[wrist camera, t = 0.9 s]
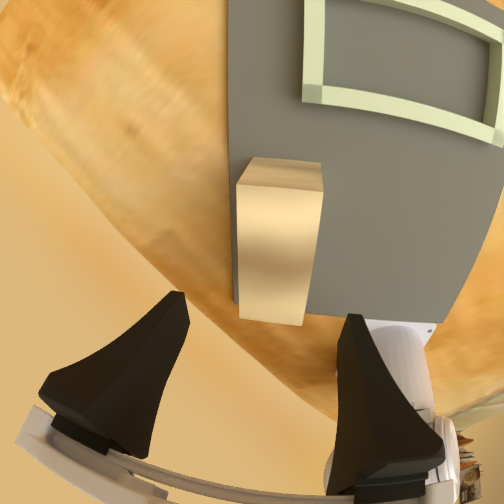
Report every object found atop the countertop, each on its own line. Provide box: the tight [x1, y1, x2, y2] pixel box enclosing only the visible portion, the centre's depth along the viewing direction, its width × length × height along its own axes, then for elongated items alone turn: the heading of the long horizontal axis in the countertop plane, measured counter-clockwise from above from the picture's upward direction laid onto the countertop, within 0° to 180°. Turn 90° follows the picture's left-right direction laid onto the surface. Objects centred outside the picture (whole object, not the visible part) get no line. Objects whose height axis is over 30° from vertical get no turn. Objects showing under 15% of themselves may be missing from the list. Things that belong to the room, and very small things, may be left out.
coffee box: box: [459, 464, 481, 504], centre depth 56 cm, size 9×6×16 cm
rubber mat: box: [228, 0, 504, 323], centre depth 16 cm, size 26×19×1 cm
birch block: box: [236, 157, 324, 326], centre depth 17 cm, size 9×4×4 cm, turn 0°
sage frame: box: [302, 0, 504, 148], centre depth 11 cm, size 8×13×2 cm, turn 90°
